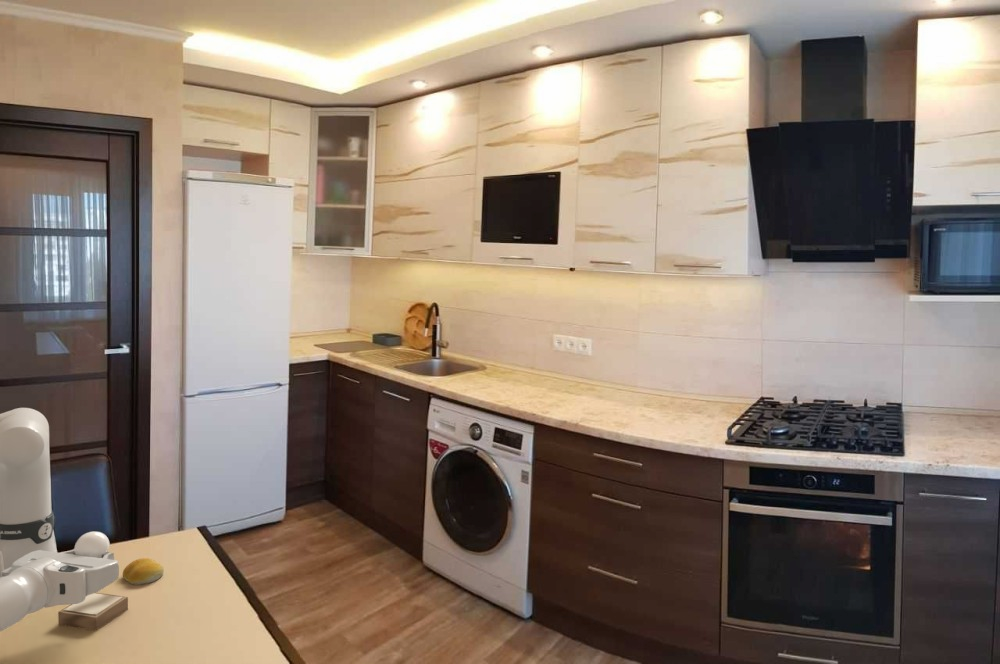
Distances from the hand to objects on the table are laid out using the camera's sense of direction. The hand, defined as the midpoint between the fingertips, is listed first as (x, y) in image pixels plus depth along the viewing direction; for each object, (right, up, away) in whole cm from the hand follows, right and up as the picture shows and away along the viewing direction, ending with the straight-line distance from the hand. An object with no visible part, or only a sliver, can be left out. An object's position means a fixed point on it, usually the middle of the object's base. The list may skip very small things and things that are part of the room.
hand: (95, 553), depth 146 cm
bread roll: (0, -12, +20) cm, 23 cm away
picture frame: (-1, -14, +1) cm, 14 cm away
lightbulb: (-1, -6, 0) cm, 6 cm away
